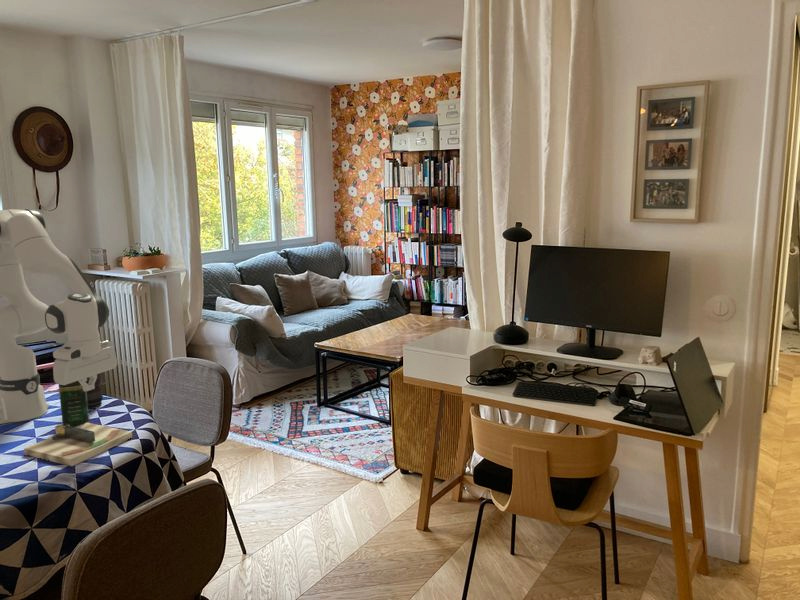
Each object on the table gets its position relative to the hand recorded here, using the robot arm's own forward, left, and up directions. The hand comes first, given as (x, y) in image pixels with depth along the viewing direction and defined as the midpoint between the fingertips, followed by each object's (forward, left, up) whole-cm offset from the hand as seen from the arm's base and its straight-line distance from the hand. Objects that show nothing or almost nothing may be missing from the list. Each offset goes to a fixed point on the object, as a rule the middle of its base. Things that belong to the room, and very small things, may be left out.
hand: (88, 389), depth 193 cm
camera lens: (-28, +22, -17) cm, 39 cm away
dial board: (-1, -5, -17) cm, 17 cm away
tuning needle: (-2, -5, -14) cm, 15 cm away
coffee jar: (-16, +6, -17) cm, 24 cm away
